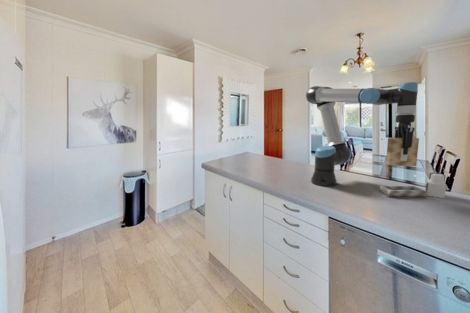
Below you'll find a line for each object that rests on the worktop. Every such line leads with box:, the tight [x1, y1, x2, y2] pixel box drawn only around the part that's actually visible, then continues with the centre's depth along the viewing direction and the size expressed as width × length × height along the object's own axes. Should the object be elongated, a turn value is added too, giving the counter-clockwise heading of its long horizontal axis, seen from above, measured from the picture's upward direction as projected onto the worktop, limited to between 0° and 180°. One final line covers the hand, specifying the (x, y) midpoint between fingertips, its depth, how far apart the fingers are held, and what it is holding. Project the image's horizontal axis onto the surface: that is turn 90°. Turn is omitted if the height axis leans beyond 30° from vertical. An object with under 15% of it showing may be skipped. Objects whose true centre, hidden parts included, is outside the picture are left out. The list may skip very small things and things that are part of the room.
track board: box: [378, 185, 427, 199], centre depth 116 cm, size 18×9×4 cm, turn 85°
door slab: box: [385, 137, 420, 167], centre depth 111 cm, size 12×4×14 cm, turn 77°
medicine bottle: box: [425, 172, 447, 199], centre depth 113 cm, size 7×7×12 cm
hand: (401, 159), depth 112 cm, fingers closed on door slab, 4 cm apart
